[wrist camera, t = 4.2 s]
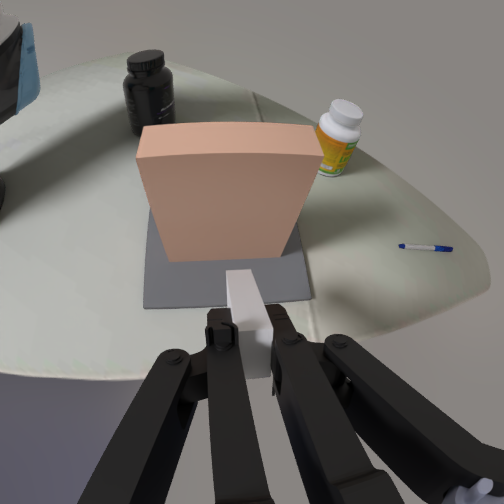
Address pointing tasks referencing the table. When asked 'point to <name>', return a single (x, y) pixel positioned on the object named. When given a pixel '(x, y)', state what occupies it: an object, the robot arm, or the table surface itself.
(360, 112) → the supplement bottle
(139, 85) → the supplement bottle
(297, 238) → the mat
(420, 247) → the ballpoint pen
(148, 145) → the tile
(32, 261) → the table surface
